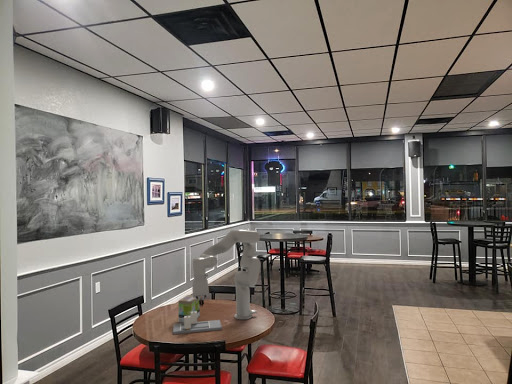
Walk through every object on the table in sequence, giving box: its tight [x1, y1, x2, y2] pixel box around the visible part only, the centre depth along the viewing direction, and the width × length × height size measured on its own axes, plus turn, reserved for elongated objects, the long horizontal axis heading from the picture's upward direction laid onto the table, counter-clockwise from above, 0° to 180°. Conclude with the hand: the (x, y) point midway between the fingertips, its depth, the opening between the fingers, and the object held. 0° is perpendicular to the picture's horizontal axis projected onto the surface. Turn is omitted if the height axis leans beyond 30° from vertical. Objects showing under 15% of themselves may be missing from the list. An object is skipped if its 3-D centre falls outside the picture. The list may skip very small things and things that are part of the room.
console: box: [172, 319, 223, 335], centre depth 225 cm, size 30×14×2 cm, turn 101°
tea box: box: [178, 294, 201, 323], centre depth 242 cm, size 15×10×15 cm, turn 168°
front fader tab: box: [184, 315, 191, 329], centre depth 220 cm, size 4×3×7 cm
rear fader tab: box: [191, 311, 198, 324], centre depth 229 cm, size 4×3×7 cm
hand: (201, 305), depth 222 cm, fingers closed
